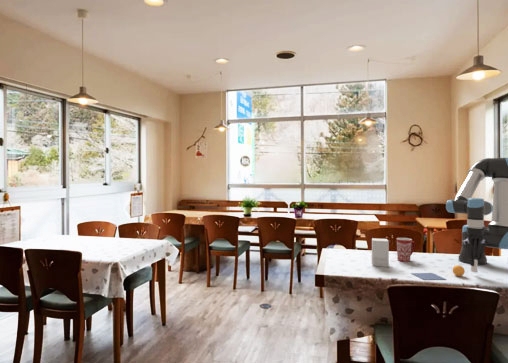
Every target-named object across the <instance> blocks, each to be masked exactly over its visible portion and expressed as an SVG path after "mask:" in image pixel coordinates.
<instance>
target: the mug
mask: <svg viewBox="0 0 508 363" xmlns="http://www.w3.org/2000/svg"><path fill="white" fill-rule="evenodd" d="M415 248H416V242H415V241H414V240H413V239H412V238H408V237H397V238H396V256H397V261H398V262H404V263H408V262H410V261H411V256H412V254H413V253H414V251H415Z"/></svg>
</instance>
